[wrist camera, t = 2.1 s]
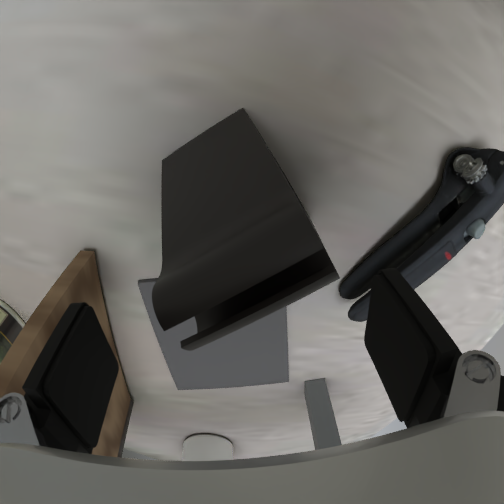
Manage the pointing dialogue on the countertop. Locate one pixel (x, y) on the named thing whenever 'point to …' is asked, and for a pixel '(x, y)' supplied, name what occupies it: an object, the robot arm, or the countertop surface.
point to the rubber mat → (224, 351)
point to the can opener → (436, 225)
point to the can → (207, 448)
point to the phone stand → (232, 235)
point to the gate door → (40, 329)
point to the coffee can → (8, 328)
